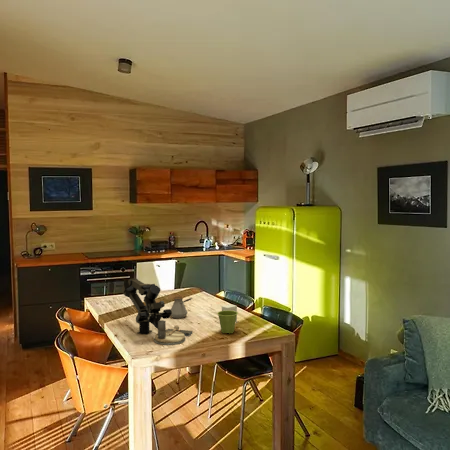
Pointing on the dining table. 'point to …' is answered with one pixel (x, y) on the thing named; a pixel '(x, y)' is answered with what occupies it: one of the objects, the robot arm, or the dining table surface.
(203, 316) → the dining table surface
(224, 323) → the plant pot
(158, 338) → the disc
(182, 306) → the coffee pot
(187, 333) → the base
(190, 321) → the dining table surface
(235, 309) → the small box
